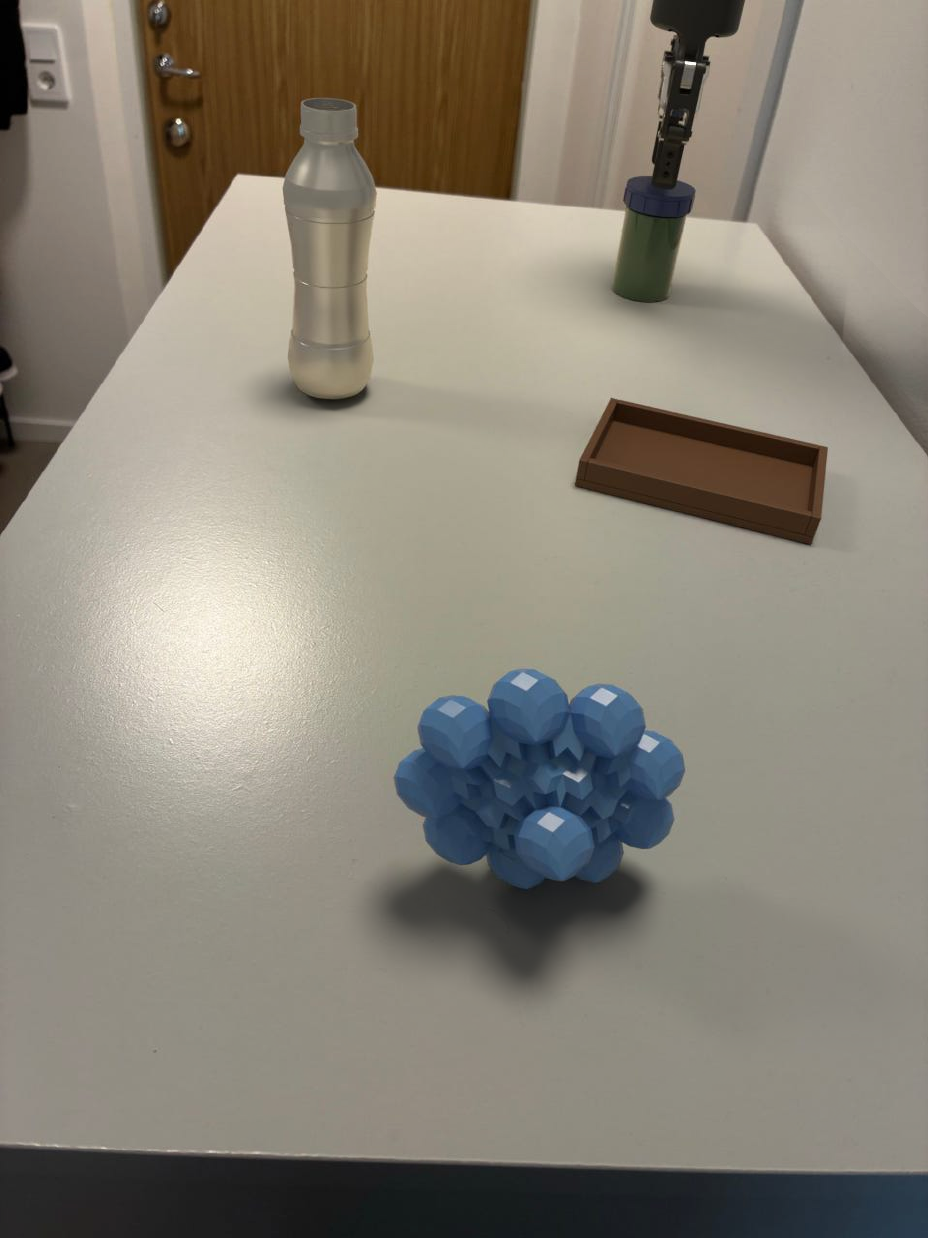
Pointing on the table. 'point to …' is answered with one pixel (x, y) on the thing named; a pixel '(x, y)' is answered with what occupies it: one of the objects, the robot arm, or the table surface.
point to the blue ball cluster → (540, 780)
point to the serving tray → (706, 469)
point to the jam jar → (647, 256)
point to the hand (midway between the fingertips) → (662, 175)
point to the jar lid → (658, 198)
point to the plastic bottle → (330, 252)
